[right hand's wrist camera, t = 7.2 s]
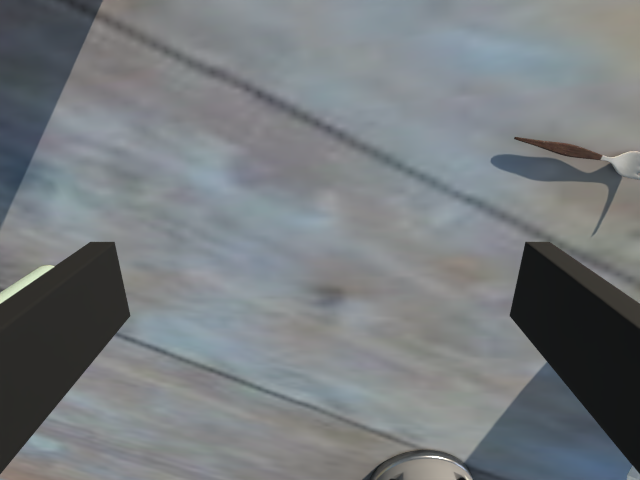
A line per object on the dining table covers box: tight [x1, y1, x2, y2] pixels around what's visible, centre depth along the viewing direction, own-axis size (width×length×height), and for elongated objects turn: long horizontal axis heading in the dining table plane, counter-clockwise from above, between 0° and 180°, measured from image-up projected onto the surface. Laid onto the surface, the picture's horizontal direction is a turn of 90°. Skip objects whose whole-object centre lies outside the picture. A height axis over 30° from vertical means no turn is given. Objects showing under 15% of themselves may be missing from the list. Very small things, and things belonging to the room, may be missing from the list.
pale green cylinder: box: [0, 265, 55, 304], centre depth 37 cm, size 4×4×15 cm
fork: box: [514, 137, 640, 180], centre depth 38 cm, size 3×16×2 cm, turn 78°
